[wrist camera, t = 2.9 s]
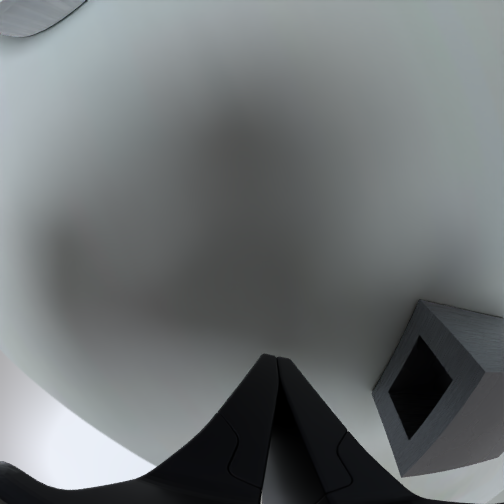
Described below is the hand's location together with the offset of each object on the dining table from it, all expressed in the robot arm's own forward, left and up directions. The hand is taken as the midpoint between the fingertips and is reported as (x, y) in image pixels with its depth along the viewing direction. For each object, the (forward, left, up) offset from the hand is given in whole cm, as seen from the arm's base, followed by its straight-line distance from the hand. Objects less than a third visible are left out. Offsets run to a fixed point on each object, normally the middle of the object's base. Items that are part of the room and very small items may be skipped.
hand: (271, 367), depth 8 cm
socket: (-8, 0, -2) cm, 9 cm away
